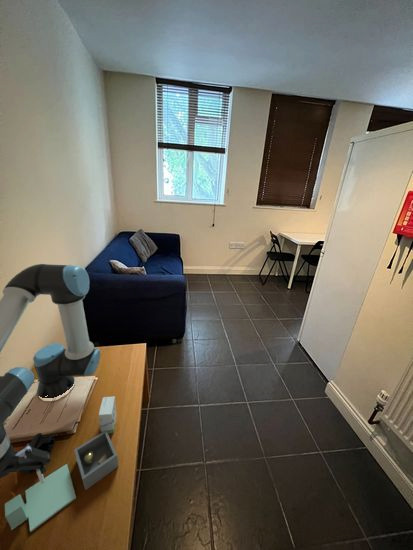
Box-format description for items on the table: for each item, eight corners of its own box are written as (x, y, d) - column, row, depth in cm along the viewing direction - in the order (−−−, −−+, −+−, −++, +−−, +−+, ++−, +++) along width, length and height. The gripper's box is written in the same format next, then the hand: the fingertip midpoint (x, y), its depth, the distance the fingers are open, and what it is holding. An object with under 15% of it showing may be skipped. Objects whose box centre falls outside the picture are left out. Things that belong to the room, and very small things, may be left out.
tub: (76, 461, 82) (74, 449, 79) (107, 441, 88) (106, 430, 86) (85, 491, 74) (82, 479, 71) (118, 467, 81) (117, 455, 78)
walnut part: (99, 466, 80) (98, 461, 79) (106, 458, 83) (105, 453, 81) (104, 471, 79) (103, 466, 78) (111, 463, 81) (111, 458, 80)
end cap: (35, 445, 86) (31, 433, 83) (56, 442, 87) (53, 430, 84) (21, 476, 77) (16, 464, 74) (44, 472, 78) (40, 460, 75)
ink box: (114, 434, 91) (111, 414, 87) (101, 436, 90) (97, 416, 86) (117, 414, 99) (115, 395, 95) (105, 416, 98) (102, 396, 93)
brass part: (84, 461, 81) (82, 454, 80) (92, 455, 83) (91, 448, 82) (86, 468, 79) (85, 461, 78) (95, 462, 81) (94, 455, 80)
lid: (10, 504, 70) (3, 490, 67) (67, 466, 80) (64, 452, 77) (13, 547, 62) (6, 533, 59) (76, 499, 72) (73, 485, 69)
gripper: (-92, 513, 45) (-53, 556, 54) (52, 433, 61) (66, 476, 69) (-84, 477, 50) (-49, 522, 59) (48, 412, 66) (61, 455, 74)
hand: (13, 497), depth 64 cm, fingers open, 13 cm apart
